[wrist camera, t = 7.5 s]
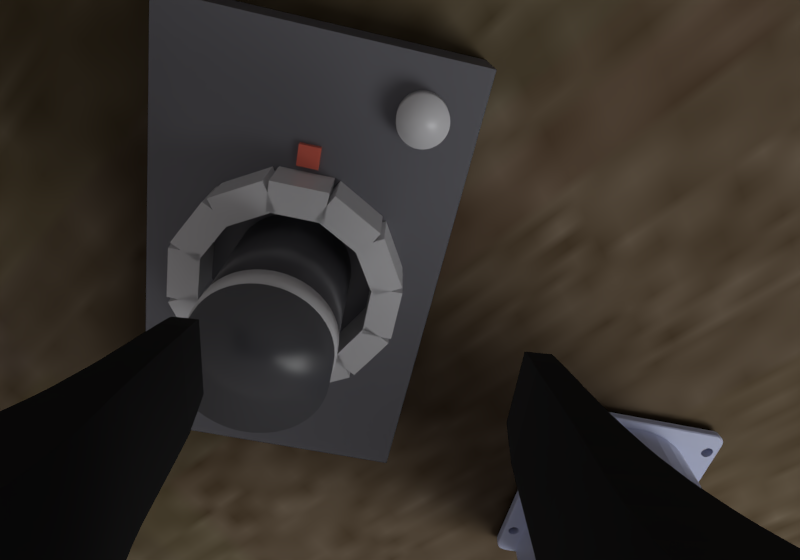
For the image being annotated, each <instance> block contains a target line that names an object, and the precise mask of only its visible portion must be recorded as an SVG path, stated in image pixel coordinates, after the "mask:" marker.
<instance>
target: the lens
mask: <svg viewBox="0 0 800 560" xmlns="http://www.w3.org/2000/svg"><path fill="white" fill-rule="evenodd" d="M350 278H351V263H350V258H349V255H348V252H347V250H346V248H345V246H344V244H343V242H342V241H341V240H340V239H338V238H337V237H336V236H335V235H333V234H332V233H331V232H330V231H328V230H327V229H326V228H325V227H323V226H322V225H321V224H320V223H317V222H312V221H308V220H303V219H298V218H293V217H288V216H283V215H273V216H270V217H267V218H264V219H262V220H260V221H259V222H257V223H255V224H254V225H253V226H251V227H250V228H249V229H248V230H247V231H246V233H245V234H244V235H243V237H242V238H241V240H240V241H239V243H238V244H237V246H236V247H235V249H234V250H233V252H232V253H231V255H230V256H229V258H228V259H227V261H226V262H225V264H224V265H223V267H222V268H221V270H220V271H219V273H218V274H217V276H216V277H215V279H214V280H213V282H212V283H211V285H210V286H209V287H208V288H207V289H206V290H205V291H204V293H203V294H202V295H201V297H200V298H199V300H198V301H197V303H196V304H195V305H194V307H193V308H192V310H191V312H190V314H189V316H188V318H191V319H199V327H200V343H201V359H202V375H203V390H204V395H203V397H202V400H201V403H200V406H199V409H198V412H200V413H201V414H203V415H204V416H205V417H207V418H209V419H210V420H212V421H214V422H216V423H218V424H220V425H223V426H225V427H228V428H231V429H234V430H239V431H243V432H251V433H270V432H277V431H282V430H285V429H289V428H292V427H294V426H296V425H299V424H300V423H302V422H304V421H305V420H307V419H308V418H309V417H311V416H312V415H313V414H314V413H315V412H316V411H317V410H318V409H319V407H320V406H321V404H322V403H323V401H324V399H325V397H326V395H327V392H328V388H329V384H330V379H331V374H332V372H333V370H334V367H335V363H336V358H337V353H338V347H339V334H340V329H341V324H342V319H343V314H344V309H345V304H346V299H347V294H348V289H349V284H350Z"/></svg>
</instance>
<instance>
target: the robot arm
mask: <svg viewBox="0 0 800 560" xmlns="http://www.w3.org/2000/svg"><path fill="white" fill-rule="evenodd" d="M203 395H204V390H203V375H202V359H201V343H200V327H199V319H191V318H181V317H169V318H167V319H165V320H164V321H162V322H160V323H159V324H157V325H155V326H154V327H152V328H151V329H149V330H147V331H146V332H144V333H143V334H141V335H139V336H138V337H136V338H135V339H133V340H131V341H130V342H128V343H127V344H125V345H123V346H122V347H120V348H119V349H117V350H115V351H114V352H112V353H110V354H109V355H107V356H106V357H104V358H102V359H101V360H99V361H97V362H96V363H94V364H92V365H90V366H88V367H87V368H85V369H83V370H81V371H79V372H78V373H76V374H74V375H72V376H70V377H69V378H67V379H65V380H63V381H62V382H60V383H58V384H56V385H54V386H52V387H50V388H49V389H47V390H45V391H43V392H41V393H39V394H37V395H35V396H32V397H30V398H28V399H26V400H24V401H22V402H20V403H17V404H15V405H13V406H11V407H9V408H7V409H4V410H2V411H0V560H126V559H127V557H128V554H129V552H130V549H131V547H132V544H133V542H134V540H135V538H136V536H137V534H138V532H139V529H140V527H141V525H142V523H143V521H144V519H145V517H146V516H147V514H148V512H149V510H150V508H151V506H152V504H153V502H154V500H155V499H156V497H157V495H158V493H159V491H160V489H161V487H162V485H163V483H164V482H165V480H166V478H167V476H168V474H169V472H170V470H171V468H172V466H173V465H174V463H175V461H176V459H177V457H178V455H179V453H180V451H181V449H182V447H183V445H184V443H185V441H186V439H187V437H188V435H189V433H190V431H191V428H192V425H193V423H194V420H195V417H196V415H197V412H198V409H199V406H200V403H201V400H202V397H203ZM507 430H508V440H509V448H510V456H511V464H512V468H513V472H514V476H515V480H516V484H517V488H518V491H517V493H516V495H515V497H514V500H513V502H512V504H511V507H510V509H509V511H508V513H507V516H506V518H505V520H504V523H503V525H502V527H501V529H500V532H499V534H498V536H497V542H498V545H499V547H500V548H502V549H505V550H511V551H516V553H517V559H518V560H800V548H798V547H796V546H795V545H793V544H791V543H789V542H788V541H786V540H784V539H782V538H780V537H779V536H777V535H775V534H773V533H772V532H770V531H768V530H766V529H765V528H763V527H761V526H759V525H758V524H756V523H754V522H753V521H751V520H749V519H748V518H746V517H744V516H743V515H741V514H740V513H738V512H736V511H735V510H733V509H732V508H730V507H729V506H727V505H726V504H724V503H723V502H721V501H720V500H718V499H717V498H715V497H714V496H712V495H710V494H709V493H707V492H706V491H704V490H703V489H702V488H701V486H700V484H699V480H700V479H701V477H702V476H703V474H704V473H705V471H706V469H707V468H708V466H709V465H710V463H711V462H712V460H713V459H714V457H715V455H716V454H717V452H718V451H719V449H720V448H721V446H722V444H723V440H722V438H721V437H720V435H719V434H718V433H717V432H715V431H711V430H705V429H700V428H694V427H689V426H683V425H678V424H672V423H667V422H662V421H656V420H651V419H645V418H640V417H634V416H629V415H623V414H618V413H612V412H608V411H607V410H606V409H605V408H604V407H603V406H602V405H601V404H600V403H599V402H598V401H597V400H596V399H595V398H594V397H593V396H592V395H591V394H590V393H589V392H588V391H587V390H586V389H585V388H584V387H583V386H582V384H581V383H580V382H579V381H578V380H577V379H576V378H575V377H574V376H573V375H572V374H571V373H570V372H569V371H568V370H567V369H566V368H565V367H564V366H563V365H562V364H561V363H560V362H559V361H558V360H557V359H556V358H555V357H554V356H553V355H552V354H543V353H533V352H525V353H524V357H523V361H522V365H521V369H520V373H519V377H518V380H517V384H516V388H515V392H514V396H513V400H512V404H511V408H510V412H509V416H508V420H507ZM706 448H707V449H706ZM704 449H706V450H704ZM512 527H514V528H512Z"/></svg>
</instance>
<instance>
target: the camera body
mask: <svg viewBox="0 0 800 560" xmlns="http://www.w3.org/2000/svg"><path fill="white" fill-rule="evenodd" d="M495 73H496V69H495V68H494V67H493V66H492V65H491V64H490V63H489V62H488V61H487V60H484V59H480V58H476V57H472V56H467V55H463V54H459V53H455V52H451V51H446V50H442V49H438V48H434V47H429V46H425V45H421V44H417V43H413V42H408V41H404V40H400V39H396V38H391V37H387V36H383V35H379V34H374V33H370V32H366V31H362V30H358V29H353V28H349V27H345V26H341V25H336V24H332V23H328V22H324V21H319V20H315V19H311V18H307V17H303V16H298V15H294V14H290V13H286V12H281V11H277V10H273V9H269V8H264V7H260V6H256V5H252V4H248V3H243V2H239V1H235V0H149V71H148V166H147V261H146V331H147V330H149V329H151V328H152V327H154V326H155V325H157V324H159V323H160V322H162V321H164V320H165V319H167V318H169V317H181V318H188V316H189V314H190V312H191V310H192V308H193V307H194V305H195V304H196V303H197V301H198V300H199V298H200V297H201V295H202V294H203V293H204V291H205V290H206V289H207V288H208V287H209V286H210V285H211V283H212V282H213V280H214V279H215V277H216V276H217V274H218V273H219V271H220V270H221V268H222V267H223V265H224V264H225V262H226V261H227V259H228V258H229V256H230V255H231V253H232V252H233V250H234V249H235V247H236V246H237V244H238V243H239V241H240V240H241V238H242V237H243V235H244V234H245V233H246V231H247V230H248V229H249V228H250V227H251V226H253V225H254V224H255V223H257V222H259V221H260V220H262V219H264V218H267V217H270V216H273V215H283V216H288V217H293V218H298V219H303V220H308V221H312V222H317V223H320V224H321V225H322V226H323V227H325V228H326V229H327V230H328V231H330V232H331V233H332V234H333V235H335V236H336V237H337V238H338V239H340V240H341V241H342V242H343V244H344V246H345V248H346V250H347V252H348V255H349V258H350V263H351V278H350V284H349V289H348V294H347V299H346V304H345V309H344V314H343V319H342V324H341V329H340V334H339V347H338V353H337V358H336V363H335V367H334V370H333V372H332V374H331V379H330V384H329V388H328V392H327V395H326V397H325V399H324V401H323V403H322V404H321V406H320V407H319V409H318V410H317V411H316V412H315V413H314V414H313V415H312V416H311V417H309V418H308V419H307V420H305V421H304V422H302V423H300V424H299V425H296V426H294V427H292V428H289V429H285V430H282V431H277V432H270V433H251V432H243V431H239V430H234V429H231V428H228V427H225V426H223V425H220V424H218V423H216V422H214V421H212V420H210V419H209V418H207V417H205V416H204V415H203V414H201V413H200V412H197V415H196V417H195V420H194V423H193V425H192V428H191V430H194V431H200V432H206V433H212V434H218V435H224V436H230V437H236V438H242V439H248V440H253V441H259V442H265V443H271V444H277V445H283V446H289V447H295V448H301V449H307V450H313V451H319V452H325V453H331V454H337V455H343V456H348V457H354V458H360V459H366V460H372V461H378V462H384V463H387V459H388V455H389V452H390V448H391V445H392V441H393V438H394V434H395V430H396V427H397V423H398V420H399V416H400V413H401V409H402V405H403V402H404V398H405V395H406V391H407V388H408V384H409V380H410V377H411V373H412V370H413V366H414V363H415V359H416V355H417V352H418V348H419V345H420V341H421V338H422V334H423V330H424V327H425V323H426V320H427V316H428V313H429V309H430V305H431V302H432V298H433V295H434V291H435V288H436V284H437V280H438V277H439V273H440V270H441V266H442V263H443V259H444V255H445V252H446V248H447V245H448V241H449V238H450V234H451V230H452V227H453V223H454V220H455V216H456V213H457V209H458V205H459V202H460V198H461V195H462V191H463V188H464V184H465V180H466V177H467V173H468V170H469V166H470V163H471V159H472V155H473V152H474V148H475V145H476V141H477V138H478V134H479V130H480V127H481V123H482V120H483V116H484V113H485V109H486V105H487V102H488V98H489V95H490V91H491V88H492V84H493V80H494V77H495Z"/></svg>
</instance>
